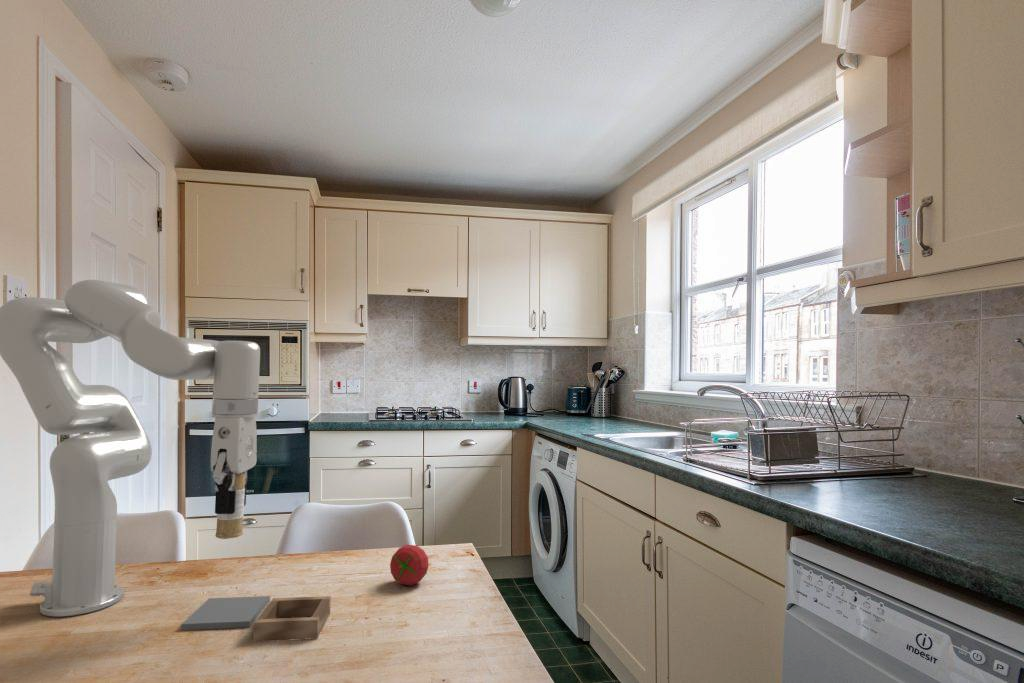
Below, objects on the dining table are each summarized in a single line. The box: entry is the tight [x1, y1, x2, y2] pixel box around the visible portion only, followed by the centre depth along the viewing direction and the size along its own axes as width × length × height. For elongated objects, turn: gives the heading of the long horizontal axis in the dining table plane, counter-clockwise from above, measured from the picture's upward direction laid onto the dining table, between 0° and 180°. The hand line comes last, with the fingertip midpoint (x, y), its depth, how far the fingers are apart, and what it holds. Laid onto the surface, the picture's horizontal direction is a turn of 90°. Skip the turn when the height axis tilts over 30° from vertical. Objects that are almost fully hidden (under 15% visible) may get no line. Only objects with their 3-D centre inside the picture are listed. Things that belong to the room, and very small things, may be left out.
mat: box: [180, 595, 271, 631], centre depth 103 cm, size 11×11×1 cm
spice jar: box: [215, 469, 246, 540], centre depth 103 cm, size 5×5×13 cm
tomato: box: [389, 544, 430, 586], centre depth 118 cm, size 8×8×8 cm
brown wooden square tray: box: [253, 595, 332, 643], centre depth 98 cm, size 10×10×3 cm
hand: (230, 508), depth 103 cm, fingers closed on spice jar, 4 cm apart
